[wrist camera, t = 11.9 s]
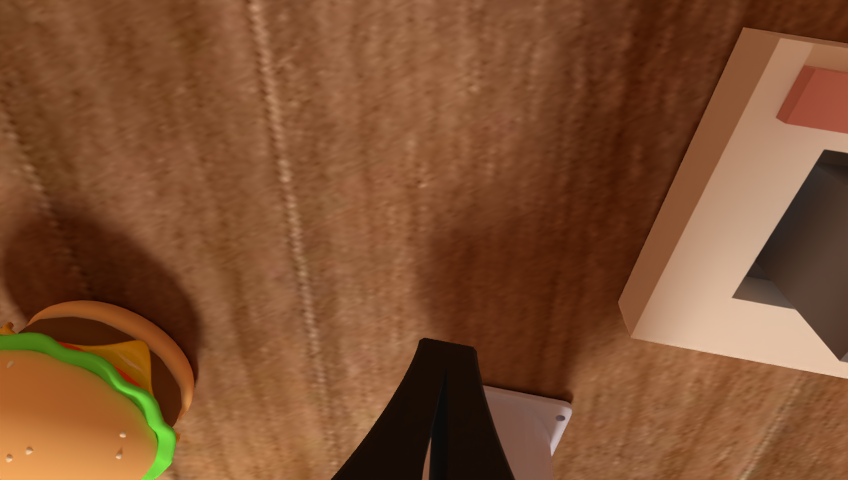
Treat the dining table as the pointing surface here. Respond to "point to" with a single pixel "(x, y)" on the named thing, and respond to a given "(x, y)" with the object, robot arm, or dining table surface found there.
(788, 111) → the socket
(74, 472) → the hamburger
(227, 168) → the dining table surface
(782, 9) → the dining table surface
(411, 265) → the dining table surface
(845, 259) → the plug
